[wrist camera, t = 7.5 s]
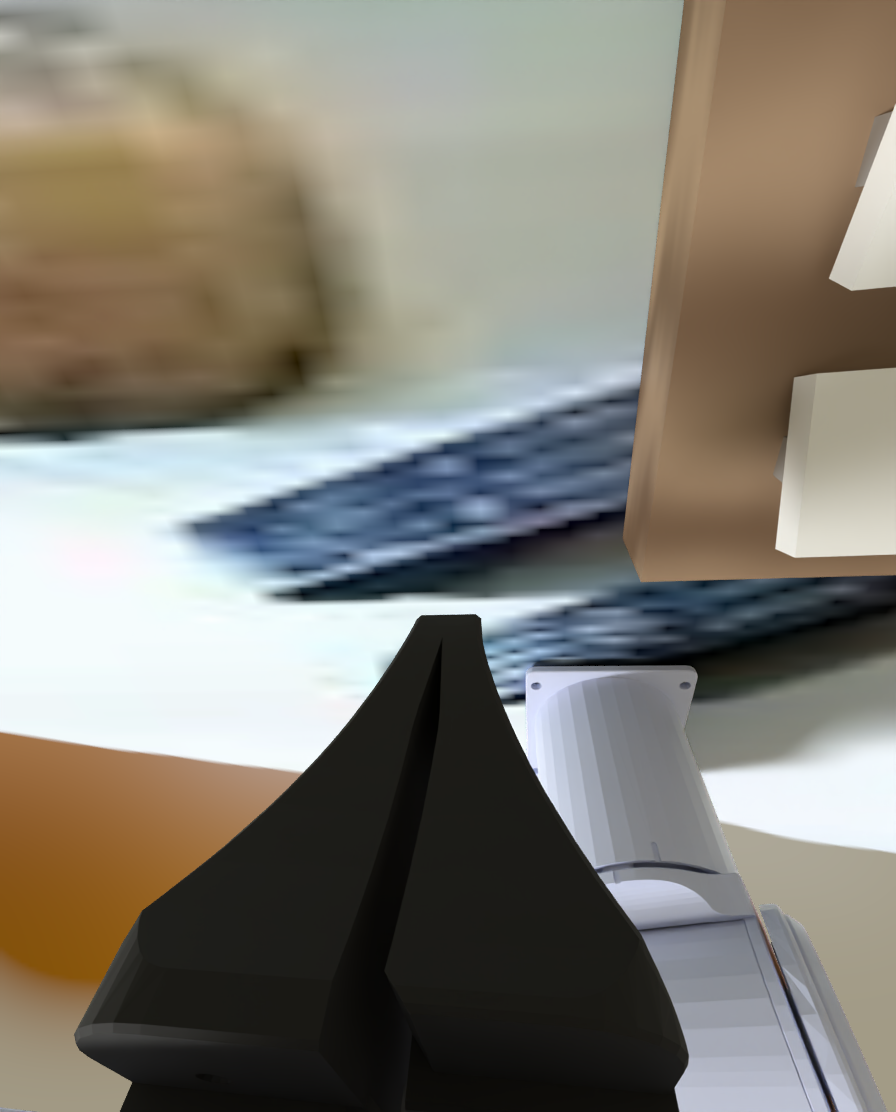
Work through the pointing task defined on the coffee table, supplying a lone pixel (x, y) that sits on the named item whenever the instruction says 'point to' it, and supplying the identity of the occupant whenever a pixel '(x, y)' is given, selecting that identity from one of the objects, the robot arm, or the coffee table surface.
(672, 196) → the switch box
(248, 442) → the coffee table surface
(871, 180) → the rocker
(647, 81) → the coffee table surface
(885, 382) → the block
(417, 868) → the robot arm
